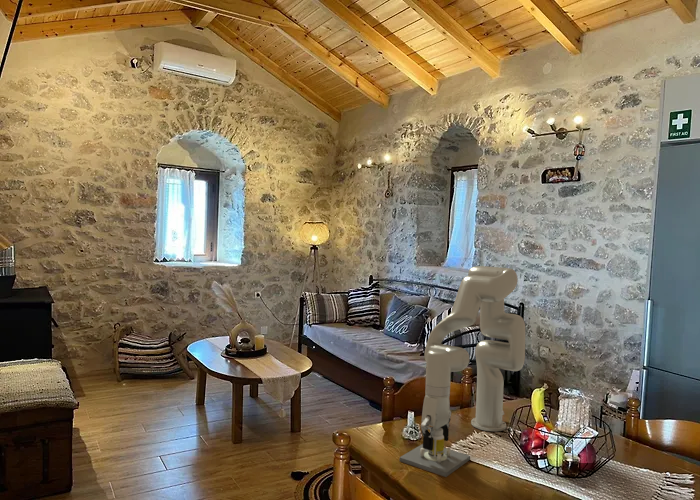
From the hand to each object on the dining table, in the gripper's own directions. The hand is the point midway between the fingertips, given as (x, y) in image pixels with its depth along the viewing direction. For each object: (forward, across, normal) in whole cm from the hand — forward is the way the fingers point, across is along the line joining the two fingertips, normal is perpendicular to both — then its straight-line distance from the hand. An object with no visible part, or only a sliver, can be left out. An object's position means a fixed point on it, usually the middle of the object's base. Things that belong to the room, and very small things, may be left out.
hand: (435, 444), depth 166 cm
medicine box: (+5, -20, +32) cm, 38 cm away
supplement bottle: (+4, 0, 0) cm, 4 cm away
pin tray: (+5, 0, 0) cm, 5 cm away
